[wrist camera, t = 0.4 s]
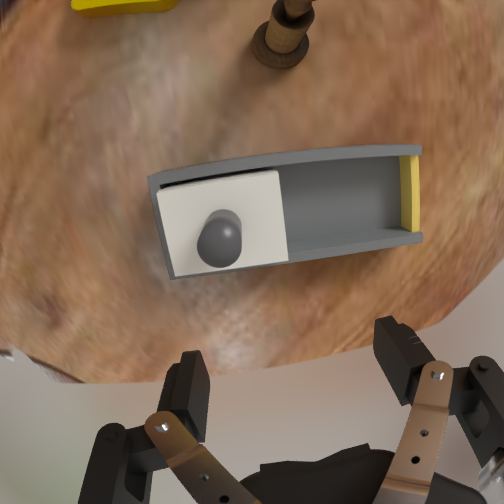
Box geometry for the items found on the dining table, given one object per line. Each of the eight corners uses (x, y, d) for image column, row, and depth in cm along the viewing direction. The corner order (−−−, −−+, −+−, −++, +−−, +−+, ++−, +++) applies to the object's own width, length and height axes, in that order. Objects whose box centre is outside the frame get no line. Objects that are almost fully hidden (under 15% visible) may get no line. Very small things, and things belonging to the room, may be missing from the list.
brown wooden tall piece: (266, 77, 32) (288, 21, 15) (243, 35, 30) (245, -41, 13) (314, 59, 31) (369, 2, 14) (291, 18, 29) (325, -58, 12)
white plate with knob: (170, 183, 35) (135, 204, 23) (272, 167, 35) (288, 178, 22) (185, 254, 38) (161, 305, 26) (281, 240, 38) (299, 287, 26)
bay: (158, 172, 36) (147, 176, 31) (402, 143, 35) (421, 145, 30) (178, 263, 40) (170, 279, 35) (405, 231, 39) (422, 242, 35)
